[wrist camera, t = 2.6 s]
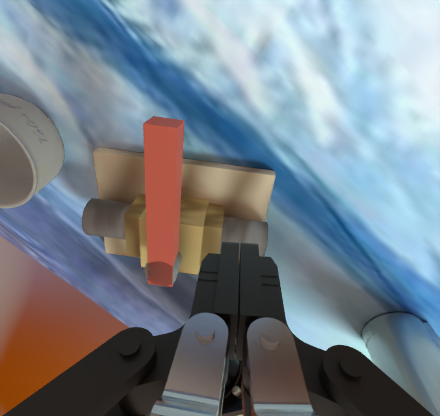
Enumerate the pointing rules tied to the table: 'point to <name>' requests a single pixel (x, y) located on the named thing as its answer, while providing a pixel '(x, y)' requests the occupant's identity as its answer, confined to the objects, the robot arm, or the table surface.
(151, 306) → the table surface
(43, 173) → the teacup
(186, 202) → the valve fixture
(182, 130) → the lever
